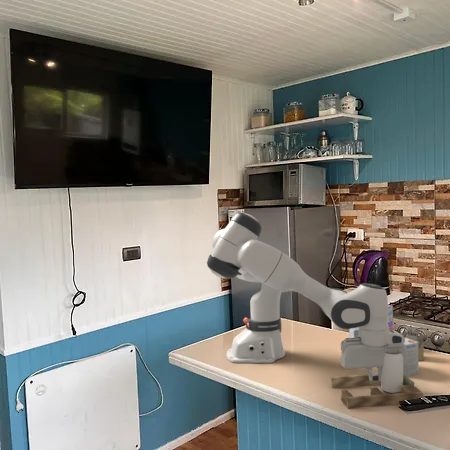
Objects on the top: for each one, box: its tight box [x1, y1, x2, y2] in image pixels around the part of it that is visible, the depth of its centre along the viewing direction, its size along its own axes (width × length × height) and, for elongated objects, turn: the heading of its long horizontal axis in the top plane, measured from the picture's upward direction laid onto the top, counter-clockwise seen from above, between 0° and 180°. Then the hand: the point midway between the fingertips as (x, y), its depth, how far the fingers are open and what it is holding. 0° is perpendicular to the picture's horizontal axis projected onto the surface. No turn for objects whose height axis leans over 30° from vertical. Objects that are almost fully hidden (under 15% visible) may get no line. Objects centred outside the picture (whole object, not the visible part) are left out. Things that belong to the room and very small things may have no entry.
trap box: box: [329, 373, 424, 410], centre depth 140 cm, size 22×16×4 cm
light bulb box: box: [403, 337, 419, 377], centre depth 158 cm, size 11×7×11 cm, turn 21°
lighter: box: [405, 329, 425, 362], centre depth 169 cm, size 7×4×10 cm, turn 27°
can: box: [380, 352, 403, 394], centre depth 143 cm, size 6×6×12 cm
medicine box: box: [348, 327, 359, 338], centre depth 182 cm, size 8×4×9 cm, turn 179°
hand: (374, 380), depth 143 cm, fingers closed
